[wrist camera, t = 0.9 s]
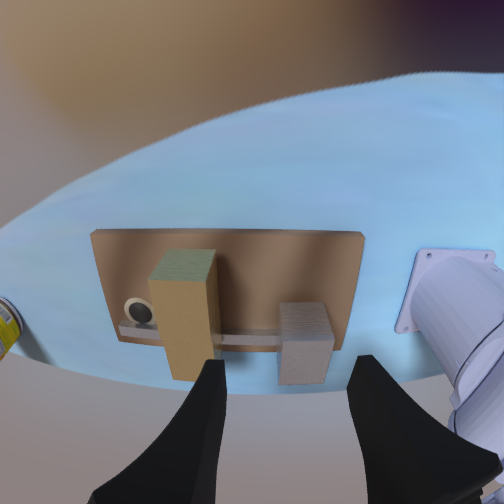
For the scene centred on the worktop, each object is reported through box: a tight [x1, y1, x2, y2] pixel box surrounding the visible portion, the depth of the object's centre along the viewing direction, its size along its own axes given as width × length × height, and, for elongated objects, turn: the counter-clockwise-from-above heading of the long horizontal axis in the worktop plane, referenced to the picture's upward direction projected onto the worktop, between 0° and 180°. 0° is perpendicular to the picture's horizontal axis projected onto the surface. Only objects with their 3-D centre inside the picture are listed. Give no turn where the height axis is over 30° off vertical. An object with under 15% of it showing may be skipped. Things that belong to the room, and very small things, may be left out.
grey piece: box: [118, 302, 335, 385], centre depth 19 cm, size 16×4×5 cm, turn 90°
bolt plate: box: [90, 229, 365, 352], centre depth 20 cm, size 19×10×1 cm, turn 90°
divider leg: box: [148, 249, 222, 382], centre depth 17 cm, size 3×8×5 cm, turn 0°
